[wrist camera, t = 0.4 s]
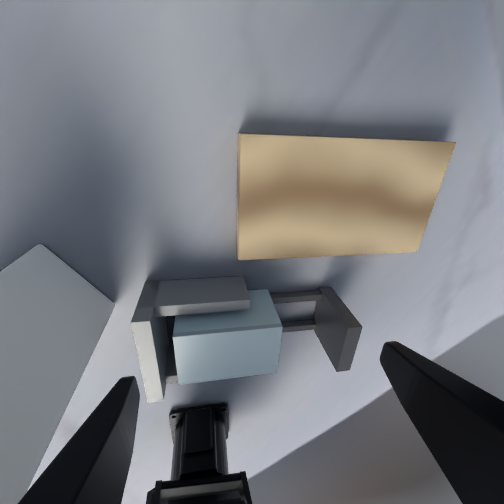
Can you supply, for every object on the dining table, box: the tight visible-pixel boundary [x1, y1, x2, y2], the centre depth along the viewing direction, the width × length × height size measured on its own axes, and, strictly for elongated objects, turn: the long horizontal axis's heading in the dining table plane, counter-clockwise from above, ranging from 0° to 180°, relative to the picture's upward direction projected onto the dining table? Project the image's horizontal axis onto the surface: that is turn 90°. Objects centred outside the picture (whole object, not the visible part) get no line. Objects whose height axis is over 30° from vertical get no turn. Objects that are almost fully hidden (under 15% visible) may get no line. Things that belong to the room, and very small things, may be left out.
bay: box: [131, 276, 250, 403], centre depth 22 cm, size 8×8×5 cm
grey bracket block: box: [173, 287, 362, 385], centre depth 22 cm, size 14×5×6 cm, turn 88°
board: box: [236, 133, 456, 260], centre depth 20 cm, size 9×16×2 cm, turn 88°
